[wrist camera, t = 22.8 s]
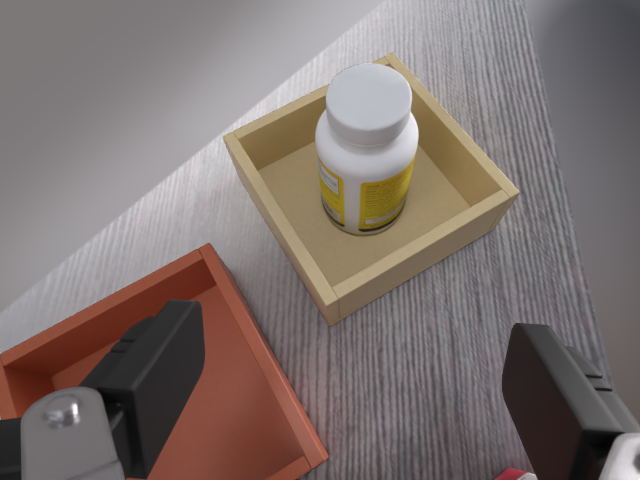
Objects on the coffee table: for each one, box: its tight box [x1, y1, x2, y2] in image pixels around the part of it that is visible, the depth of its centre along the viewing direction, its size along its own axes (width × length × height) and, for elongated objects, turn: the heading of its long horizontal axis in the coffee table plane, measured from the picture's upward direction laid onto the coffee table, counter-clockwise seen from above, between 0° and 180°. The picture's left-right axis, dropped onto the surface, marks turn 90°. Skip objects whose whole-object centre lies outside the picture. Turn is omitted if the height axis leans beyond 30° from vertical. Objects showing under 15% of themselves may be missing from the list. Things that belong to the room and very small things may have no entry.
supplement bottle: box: [315, 63, 418, 235], centre depth 25 cm, size 5×5×10 cm
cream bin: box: [223, 52, 520, 327], centre depth 28 cm, size 12×12×5 cm
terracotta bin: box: [0, 243, 329, 480], centre depth 23 cm, size 12×12×5 cm
